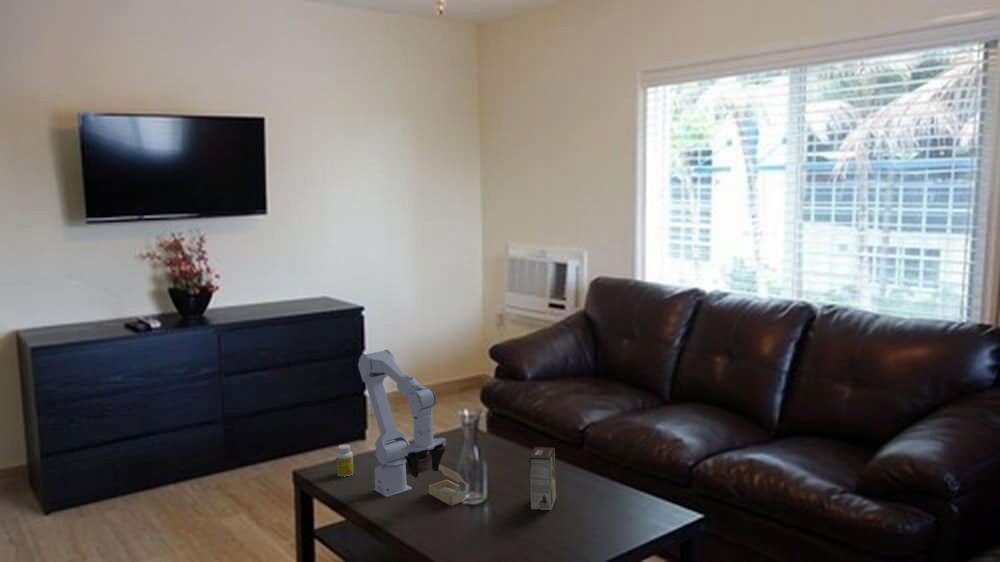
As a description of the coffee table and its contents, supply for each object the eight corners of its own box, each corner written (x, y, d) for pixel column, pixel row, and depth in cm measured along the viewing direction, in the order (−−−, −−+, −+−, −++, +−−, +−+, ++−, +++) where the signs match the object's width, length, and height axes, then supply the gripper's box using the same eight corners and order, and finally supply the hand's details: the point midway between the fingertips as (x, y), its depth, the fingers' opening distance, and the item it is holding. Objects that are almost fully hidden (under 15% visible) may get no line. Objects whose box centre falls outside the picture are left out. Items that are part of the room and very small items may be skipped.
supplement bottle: (335, 477, 260) (334, 449, 259) (339, 471, 265) (337, 443, 264) (351, 477, 260) (350, 449, 259) (355, 471, 265) (353, 443, 264)
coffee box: (535, 496, 241) (534, 446, 239) (556, 498, 240) (555, 447, 237) (530, 509, 232) (529, 457, 230) (552, 510, 231) (551, 458, 229)
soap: (450, 500, 239) (449, 494, 239) (438, 496, 242) (438, 489, 242) (457, 497, 241) (456, 490, 241) (445, 493, 244) (445, 486, 244)
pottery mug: (439, 462, 273) (438, 447, 268) (425, 482, 266) (424, 467, 261) (410, 450, 277) (408, 434, 272) (395, 469, 270) (393, 454, 265)
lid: (456, 473, 235) (457, 472, 235) (433, 462, 245) (434, 461, 245) (468, 487, 238) (469, 486, 238) (445, 475, 248) (445, 474, 248)
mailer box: (450, 506, 235) (450, 497, 235) (428, 494, 245) (428, 485, 244) (469, 500, 239) (469, 491, 239) (447, 488, 249) (447, 479, 248)
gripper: (409, 438, 226) (411, 483, 228) (451, 427, 235) (452, 471, 237) (396, 432, 232) (398, 476, 234) (438, 421, 241) (439, 464, 242)
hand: (425, 473), depth 236 cm, fingers open, 7 cm apart
